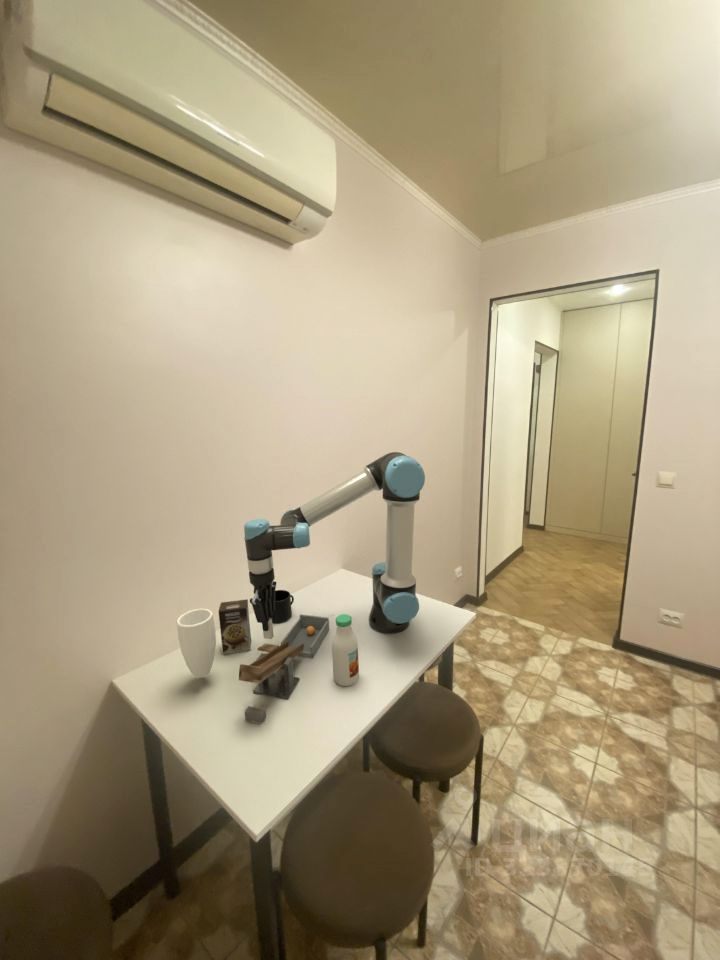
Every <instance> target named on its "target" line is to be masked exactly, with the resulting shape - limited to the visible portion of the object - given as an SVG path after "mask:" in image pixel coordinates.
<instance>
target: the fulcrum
mask: <svg viewBox="0 0 720 960" xmlns="http://www.w3.org/2000/svg"><path fill="white" fill-rule="evenodd" d="M266 654H267V653H260V655H259V656H258V657H257V658H256V660H258V659H259V658H261V657H262V656H264V655H266ZM293 659H294V658H293ZM293 659H292V658H289V657H288V658H287V660H286V661H285V663H284V664H283V665H284V669H283V674H279V673H273V674H272V675H271V676H269V677H268V678H267V679H265V680H264V681H263V682H261V683H260V684H258V683H257V685H256V686H255V687H254V689H252V693H253V694H254V695H261V696H265V697H271V698H277V699H282V700H289V699H290V697H291V695H292V694H293V692H294V690H295V689H296V687H297V685H298V683H299V681H300V677H299V676H295V674H294V662H293V661H294V660H293Z"/></svg>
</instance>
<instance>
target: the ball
mask: <svg viewBox="0 0 720 960" xmlns="http://www.w3.org/2000/svg"><path fill="white" fill-rule="evenodd" d="M306 632H307V634H309V635H312V634H314V632H315V629H314V627H313V626H309V627H308V628H307V630H306Z"/></svg>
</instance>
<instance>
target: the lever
mask: <svg viewBox="0 0 720 960" xmlns="http://www.w3.org/2000/svg"><path fill="white" fill-rule="evenodd" d="M288 643H289V642H288V641H287V642H285V643H283V644H282V645H281V644H280V645H279V644H278V645H277V644H271V643H264V644H262V645H260V646H258V647H257V650H256V651H259V652H265V654H266V655H264V656H262V657H261V658H259V659H258V660H257V659H256V660H254V661H253V662H252V663H250V664H244V663H240V664H239V671H238V672H239V673H238V674H239V675H238V681H243V682H247V683H254V684H257V685H258V684H260V683H261V682H263V681H264V680H265V679H267V678H268V677H269V676H271V675H272V674H273V673H274V674H276V672H277V671H279V670H280V669H281V670H284V665H283V664H284V663H285V661H286V660H287V658H288V657H289V658H292V659H295V658H296V657H299V656H298V655H299V654H300V653H302V652H303V649H304V644H301V645H299V646H298V647H289V646H288Z"/></svg>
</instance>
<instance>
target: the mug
mask: <svg viewBox="0 0 720 960" xmlns="http://www.w3.org/2000/svg"><path fill="white" fill-rule="evenodd" d="M294 600H295V597H294V596H293V595H292V594H291V593H290V592H289V591H288V590H285V589H277V590H276V589H275V612H273V614H274V615H275V617H274V618H273V617H272V624H280V623H284V622H287V621H289V620H290V619H291V618H292V614H293V613H292V605H293V604H294Z"/></svg>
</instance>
